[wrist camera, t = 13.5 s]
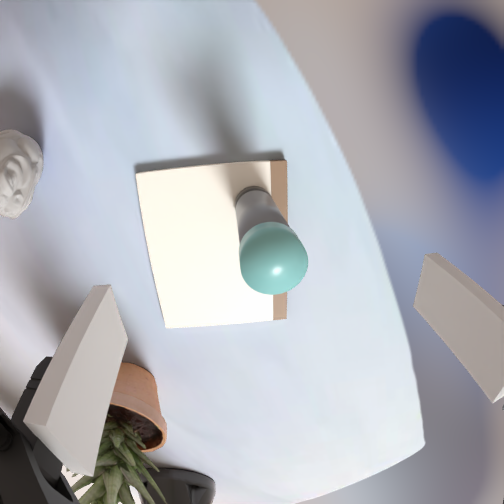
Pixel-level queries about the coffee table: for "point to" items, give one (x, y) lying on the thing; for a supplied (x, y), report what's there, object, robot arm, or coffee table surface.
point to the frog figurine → (18, 171)
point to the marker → (267, 244)
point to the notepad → (206, 241)
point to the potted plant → (126, 440)
